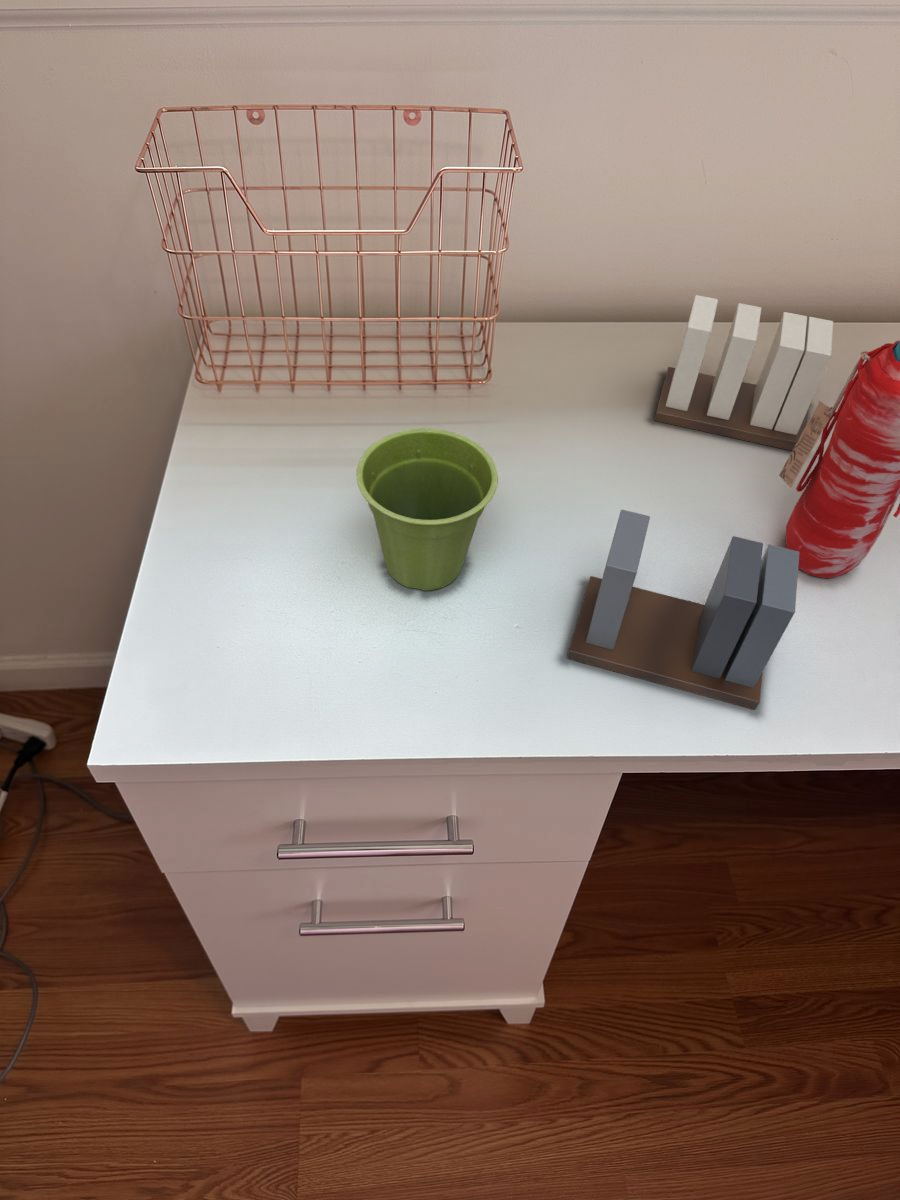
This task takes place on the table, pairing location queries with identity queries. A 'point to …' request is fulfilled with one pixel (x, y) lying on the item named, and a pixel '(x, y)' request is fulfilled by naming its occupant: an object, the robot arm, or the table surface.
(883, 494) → the water bottle
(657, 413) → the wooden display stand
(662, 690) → the table surface
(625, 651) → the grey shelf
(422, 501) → the plant pot
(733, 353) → the beige box
